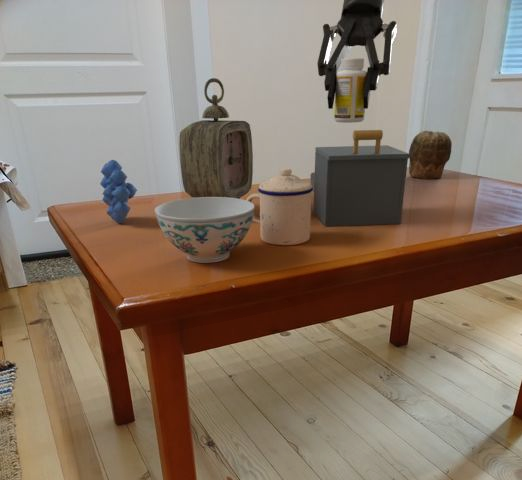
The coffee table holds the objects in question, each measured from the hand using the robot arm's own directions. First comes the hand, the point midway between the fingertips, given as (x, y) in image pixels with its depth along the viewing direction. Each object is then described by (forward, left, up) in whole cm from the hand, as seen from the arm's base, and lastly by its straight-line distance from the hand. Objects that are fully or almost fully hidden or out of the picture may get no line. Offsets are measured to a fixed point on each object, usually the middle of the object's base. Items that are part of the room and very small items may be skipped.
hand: (347, 102), depth 90 cm
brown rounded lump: (+45, -34, -21) cm, 60 cm away
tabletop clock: (+9, +24, -21) cm, 33 cm away
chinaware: (-20, +26, -21) cm, 39 cm away
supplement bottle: (+4, -1, -4) cm, 5 cm away
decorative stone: (+27, -5, -21) cm, 35 cm away
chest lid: (+2, -3, -9) cm, 10 cm away
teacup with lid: (-11, +14, -21) cm, 27 cm away
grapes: (+4, +43, -21) cm, 48 cm away
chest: (+2, -3, -21) cm, 21 cm away
